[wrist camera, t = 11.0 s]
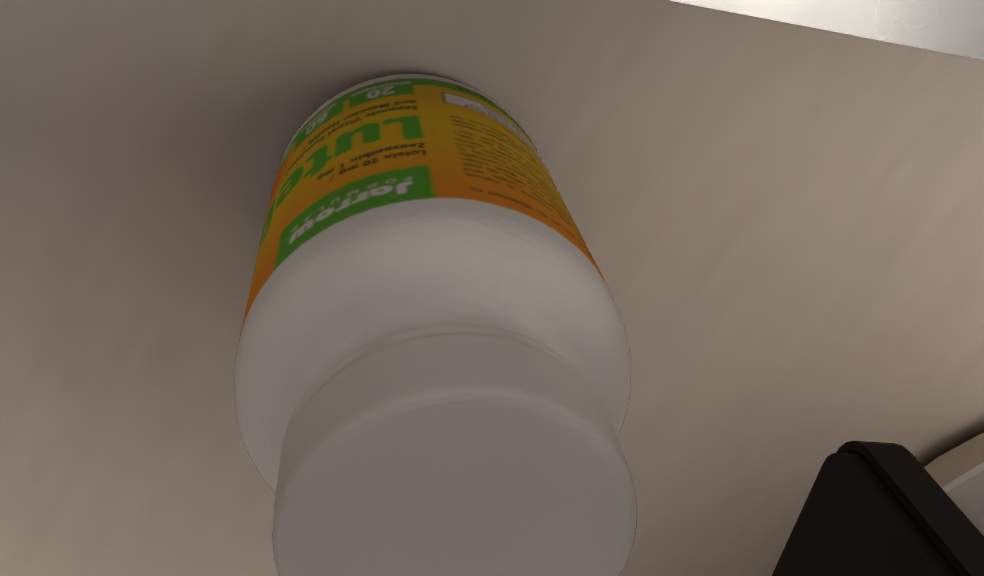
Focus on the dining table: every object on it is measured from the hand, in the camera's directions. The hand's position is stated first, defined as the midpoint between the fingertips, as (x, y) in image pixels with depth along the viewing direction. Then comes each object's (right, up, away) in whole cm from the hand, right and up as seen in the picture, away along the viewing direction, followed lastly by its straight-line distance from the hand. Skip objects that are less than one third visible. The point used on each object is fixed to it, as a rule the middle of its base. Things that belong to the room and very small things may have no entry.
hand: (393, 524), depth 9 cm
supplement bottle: (-1, +4, +9) cm, 10 cm away
